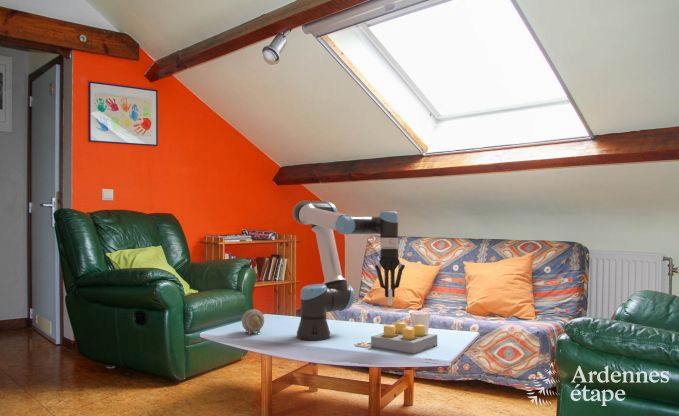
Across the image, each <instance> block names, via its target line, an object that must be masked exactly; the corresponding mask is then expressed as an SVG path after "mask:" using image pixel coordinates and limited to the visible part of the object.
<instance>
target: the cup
mask: <svg viewBox="0 0 679 416" xmlns="http://www.w3.org/2000/svg"><path fill="white" fill-rule="evenodd" d="M408 313H409V316H410V317H409V318H410V322H411V328H413V325H425V333H428V334H429V327H430V322H431V317H432V312H430V311H427V310H426V311H425V310H413V311H409V312H408Z"/></svg>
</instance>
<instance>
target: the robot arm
mask: <svg viewBox="0 0 679 416" xmlns="http://www.w3.org/2000/svg"><path fill="white" fill-rule="evenodd" d="M295 204H296V205H294V206H293V210H292V216H293V220H295V221H296V223H298V224H300V225H304V226H305V225H307V226H308V225H309V226H311V231H312V232H314V233H315V236H316V242H317V247H318V252H319V253H318V254H319V256H320V263H321V269H322V273H323V278H324V281H323V282H322V283H312V284H308V285H305V286H303V287H302V288H301V289H300V295H299V297H300V321H299V323H298V327H297V331H296V338H297V339H299V338H300V339H299V340H303V339H304V341H320V340H321V341H323V340H327V339H330V338H331V330H330V328H329V324H328V321H327V313H331V312H332V313H333V312H343V311H346V310H348V309H350V308H351V307H352V306H353V303H354V302H355V291H354V288H353V287H352V285H349V284H348V281H347V279H346V278H344V276H343V272H342V268H341V263H340V258H339V254H338V249H337V244H336V238H335V234H334V231H337V233H338V234H341V235H380V237H379V238H380V239H379V240H380V241H379V243H380V246H379V247H380V248H381V249H380V250H379V251H380V255H379V257H380V258H379V261H378V263H377V264H375V265H374V267H373V268H374V269H375V270H376V274H377V275H376V276H377V278H378V282H379V287H380V288H382V289H384V297H385V298H386V300H387V302H386V303H387V306H393V298H395V289H398V288H400V284H401V283H400V282H401V279H402V274H403V271H404V269H405V268H406V265H405V264H403V263H401V262H400V259H399V249H398V248H399V217H398V212H397V211H392V210H390V211H389V210H387V211H386V210H385V211H383V210H382V211H380V213H379V216H361V215H360V216H357V215H356V216H354V215H349V214H343V213H339V212H338V209H337V207H336V205H335V204H334V203H332V202H331V201H326V200H321V201H320V200H301V201H299V202H298V203H295ZM397 267H398V270H397V272H396V269H397ZM381 268H382V269H383V273H384V274H383V275H384V279H383V275H382V271H381ZM389 272H390V273H389ZM395 273H397V274H395ZM389 275H390V278H389ZM395 275H396V276H395ZM395 277H396V278H395ZM389 280H390V281H389ZM389 282H390V285H389ZM389 286H390V288H389Z"/></svg>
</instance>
